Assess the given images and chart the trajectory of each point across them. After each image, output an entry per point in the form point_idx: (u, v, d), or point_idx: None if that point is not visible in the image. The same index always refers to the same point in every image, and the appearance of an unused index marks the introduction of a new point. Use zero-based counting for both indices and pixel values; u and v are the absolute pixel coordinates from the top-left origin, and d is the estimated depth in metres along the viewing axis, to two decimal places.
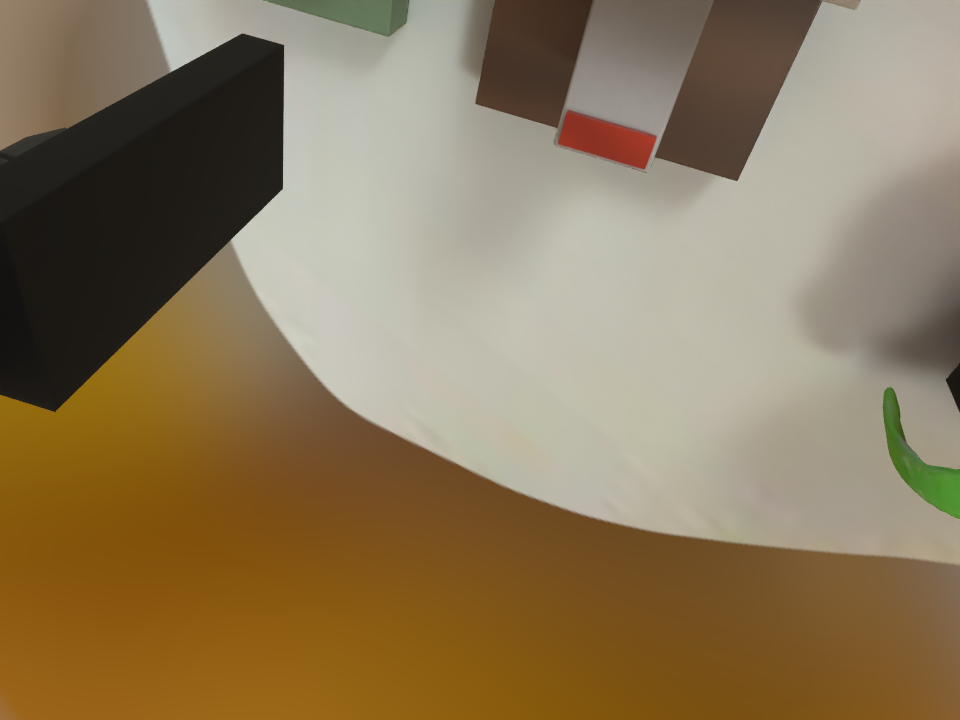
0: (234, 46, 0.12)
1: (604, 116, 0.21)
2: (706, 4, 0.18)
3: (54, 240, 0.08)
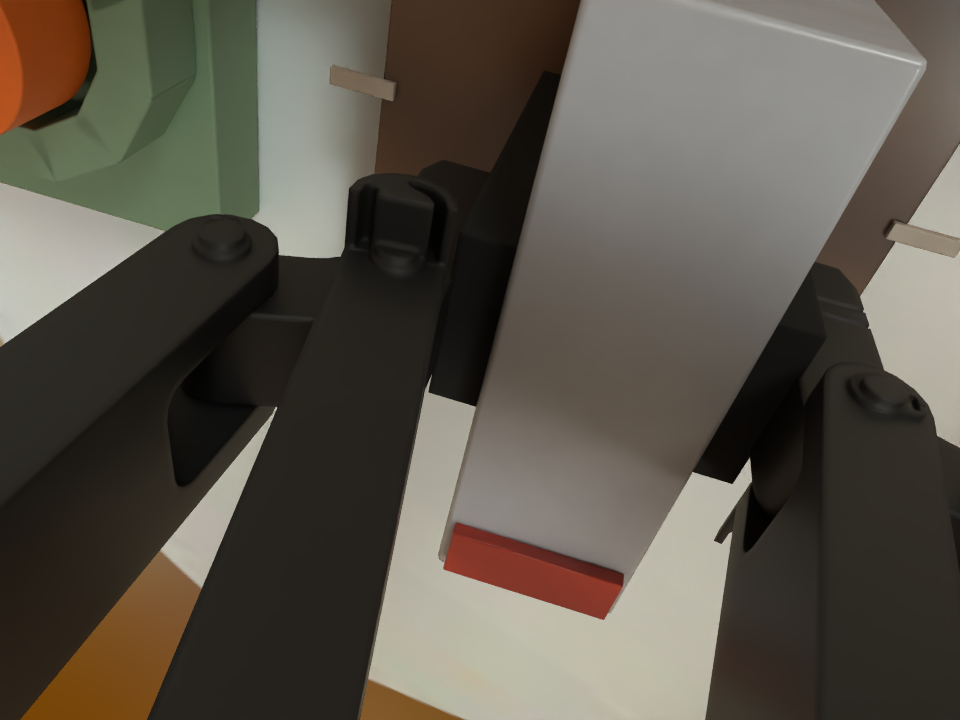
0: (548, 83, 0.13)
1: (524, 537, 0.11)
2: (718, 409, 0.09)
3: None
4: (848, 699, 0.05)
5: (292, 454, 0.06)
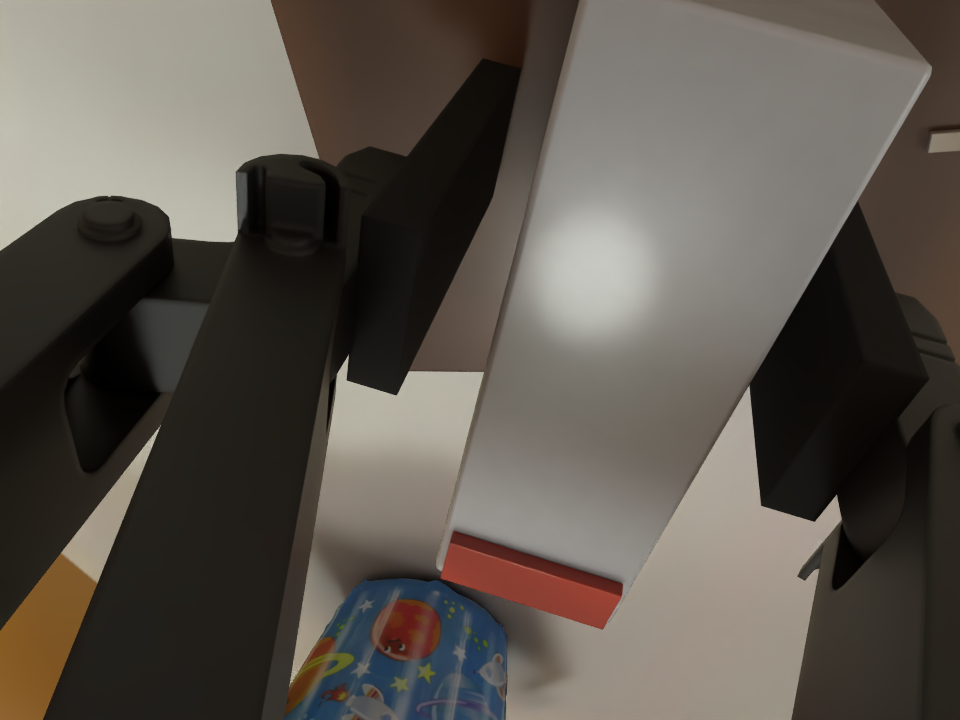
0: (484, 70, 0.13)
1: (522, 546, 0.11)
2: (718, 419, 0.09)
3: (429, 246, 0.09)
4: None
5: (189, 444, 0.06)
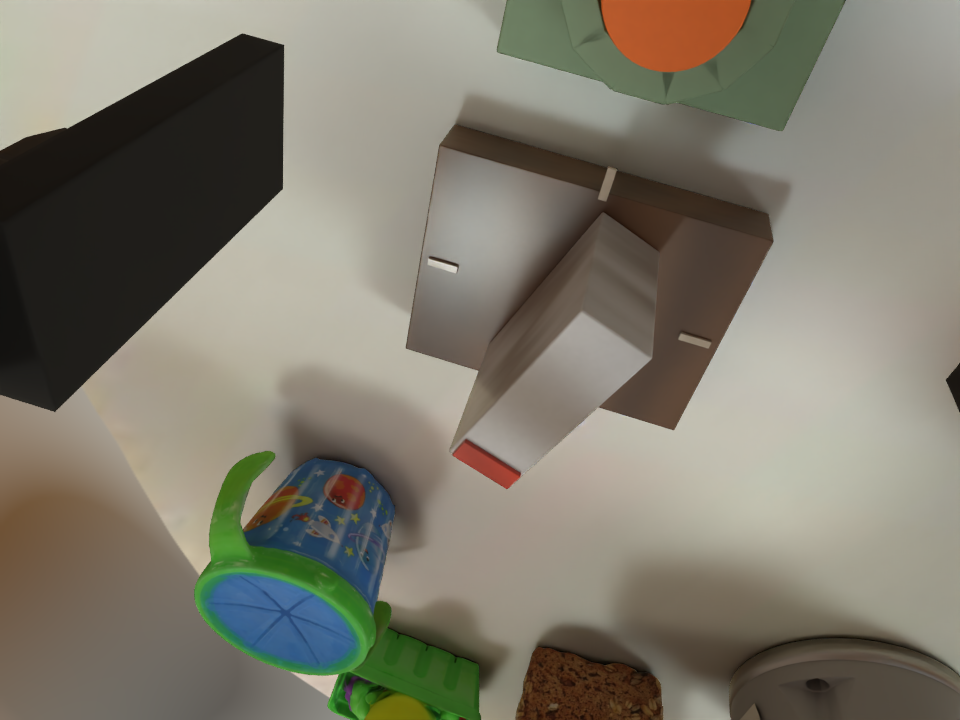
0: (234, 46, 0.12)
1: (490, 450, 0.29)
2: (575, 424, 0.27)
3: (54, 240, 0.08)
4: None
5: None
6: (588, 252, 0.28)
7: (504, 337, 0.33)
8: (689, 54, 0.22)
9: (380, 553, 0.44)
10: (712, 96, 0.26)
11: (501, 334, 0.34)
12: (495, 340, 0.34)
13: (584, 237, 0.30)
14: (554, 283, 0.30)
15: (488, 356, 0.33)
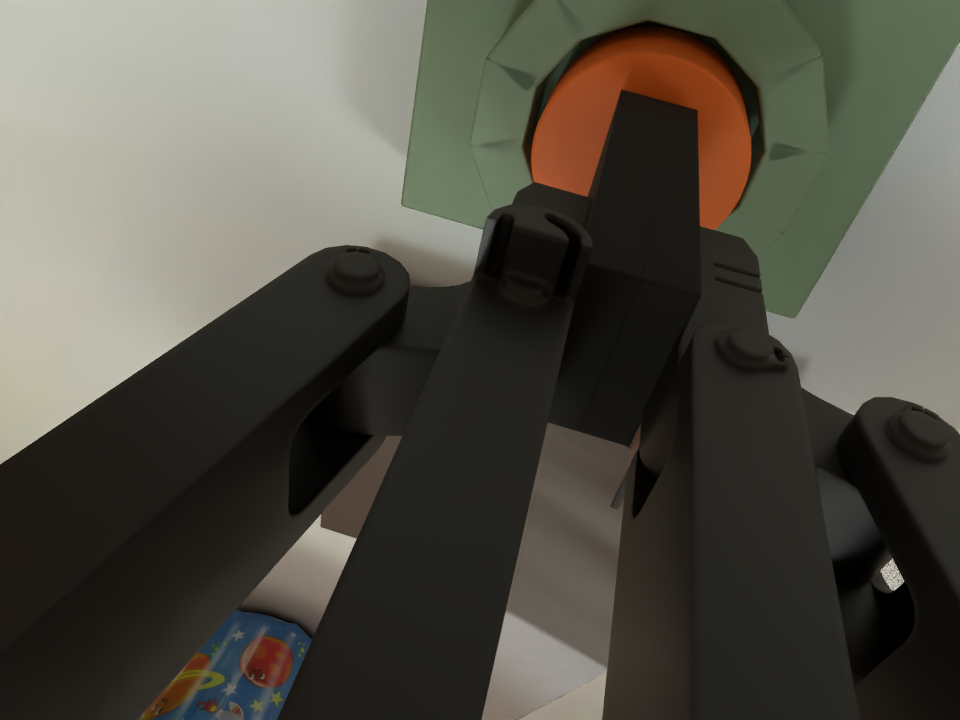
0: (628, 103, 0.13)
1: None
2: None
3: None
4: (722, 656, 0.05)
5: (417, 479, 0.06)
6: None
7: None
8: None
9: None
10: None
11: None
12: None
13: None
14: None
15: None
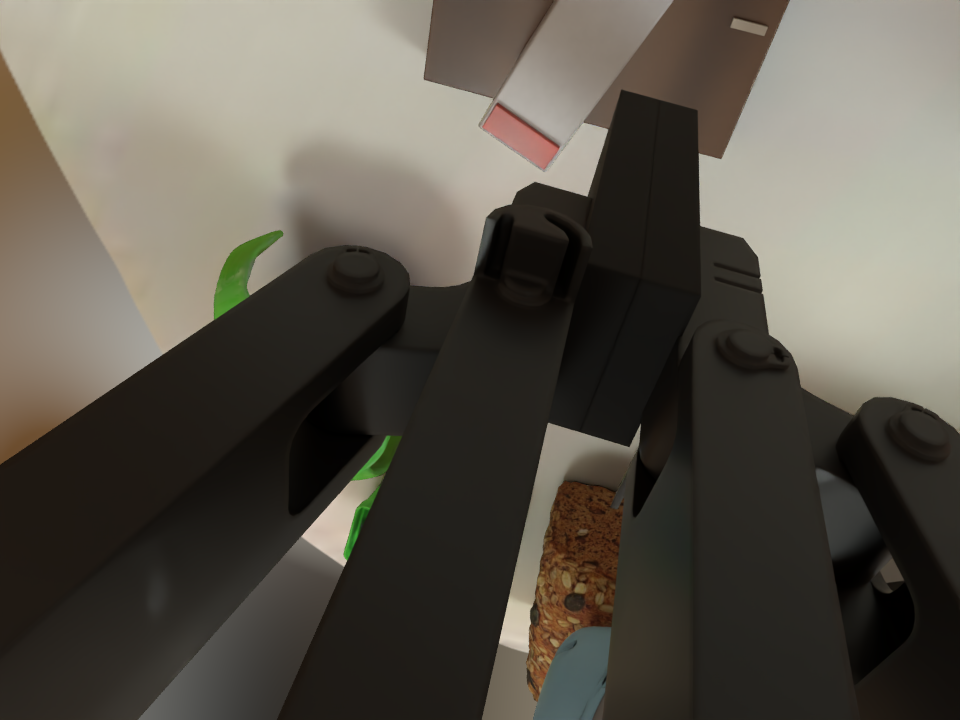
0: (628, 103, 0.13)
1: (524, 117, 0.25)
2: (623, 60, 0.23)
3: None
4: (724, 658, 0.05)
5: (417, 479, 0.06)
6: None
7: (535, 31, 0.29)
8: None
9: None
10: None
11: (531, 37, 0.30)
12: None
13: None
14: None
15: None
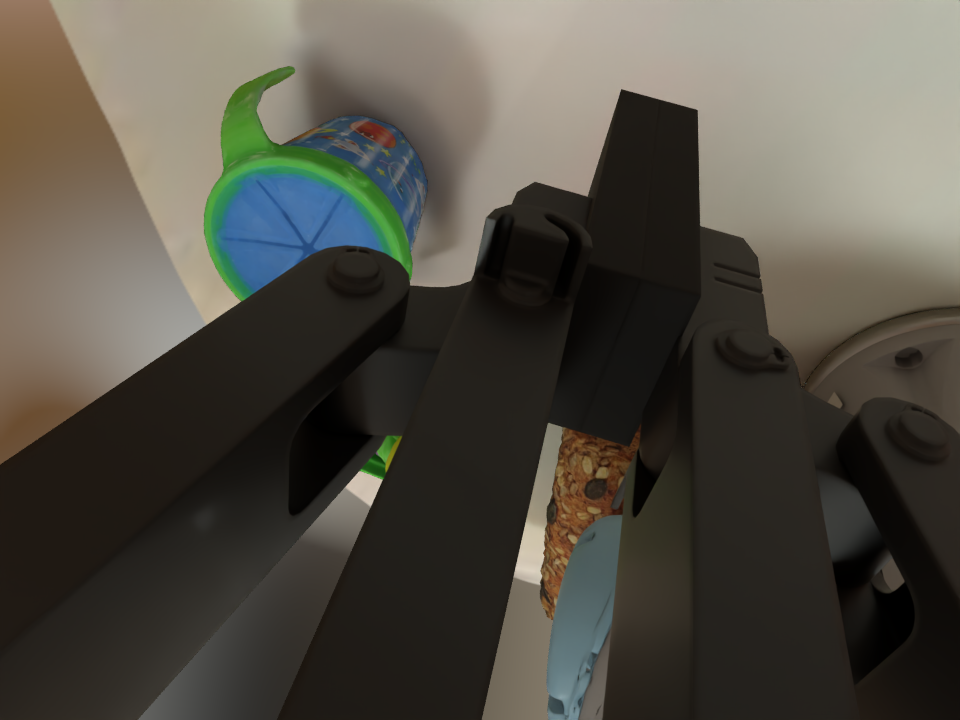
0: (628, 102, 0.13)
1: None
2: None
3: None
4: (722, 656, 0.05)
5: (417, 479, 0.06)
6: None
7: None
8: None
9: (414, 199, 0.38)
10: None
11: None
12: None
13: None
14: None
15: None
